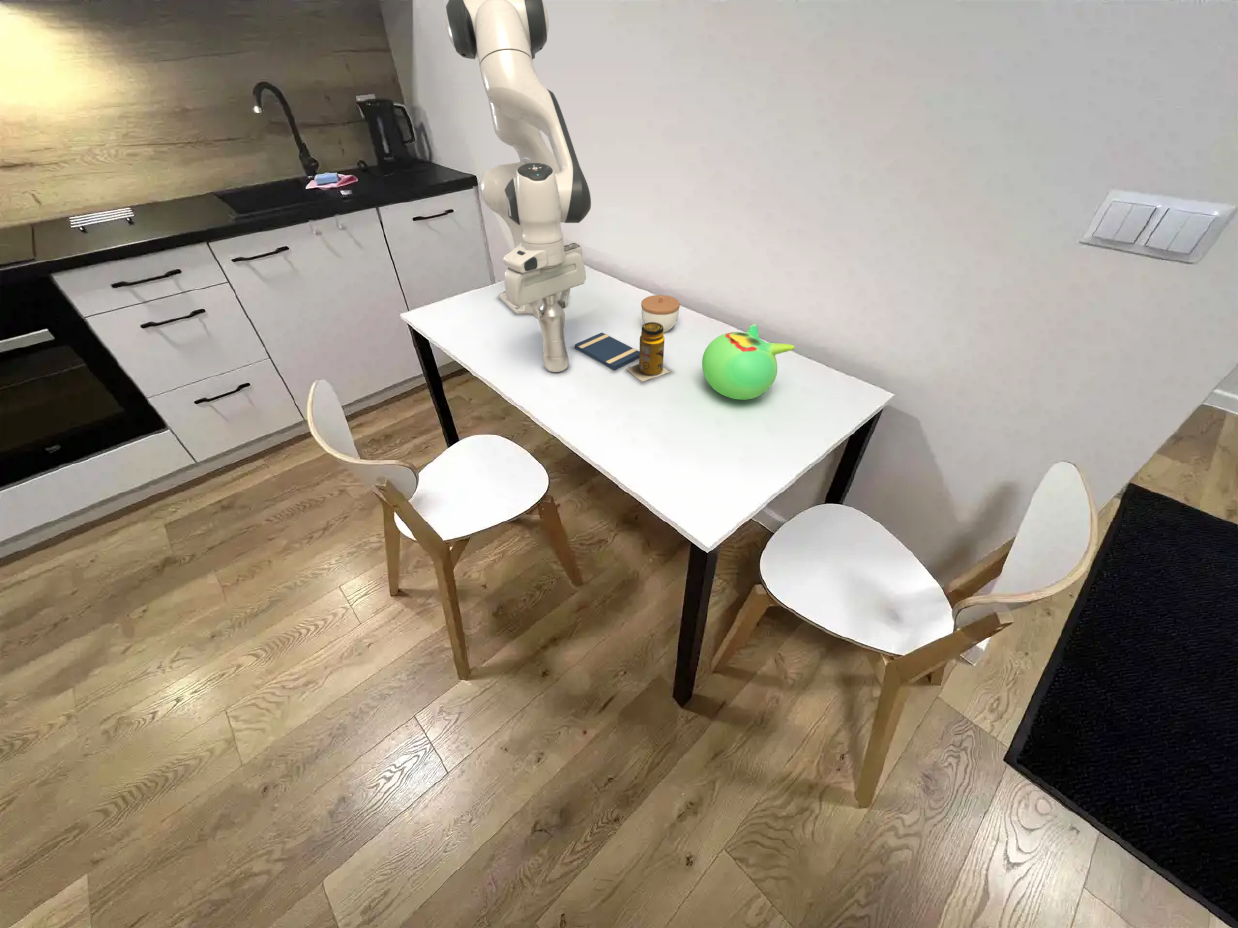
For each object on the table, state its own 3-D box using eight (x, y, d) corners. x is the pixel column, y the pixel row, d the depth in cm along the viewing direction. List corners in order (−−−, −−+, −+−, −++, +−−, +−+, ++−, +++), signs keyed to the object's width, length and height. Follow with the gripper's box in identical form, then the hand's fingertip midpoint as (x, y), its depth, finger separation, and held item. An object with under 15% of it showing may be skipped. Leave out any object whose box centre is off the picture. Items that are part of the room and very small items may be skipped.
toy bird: (687, 379, 122) (692, 324, 112) (744, 365, 127) (754, 311, 117) (726, 419, 109) (736, 361, 100) (789, 401, 114) (804, 344, 104)
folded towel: (574, 348, 134) (574, 344, 133) (602, 336, 139) (601, 332, 138) (614, 370, 125) (614, 366, 124) (642, 356, 130) (642, 352, 129)
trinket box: (675, 319, 146) (677, 288, 140) (680, 336, 138) (682, 304, 132) (639, 320, 146) (640, 289, 140) (641, 337, 138) (642, 305, 132)
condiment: (669, 372, 124) (672, 328, 116) (642, 382, 121) (643, 338, 113) (652, 360, 129) (654, 317, 121) (625, 369, 126) (625, 326, 118)
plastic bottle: (558, 359, 130) (550, 284, 116) (575, 368, 126) (568, 292, 113) (538, 368, 126) (528, 292, 113) (555, 378, 123) (546, 301, 109)
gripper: (572, 237, 114) (576, 295, 123) (496, 259, 103) (507, 321, 113) (589, 244, 110) (592, 303, 119) (513, 267, 100) (522, 330, 109)
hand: (550, 312), depth 116 cm, fingers closed on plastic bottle, 6 cm apart
